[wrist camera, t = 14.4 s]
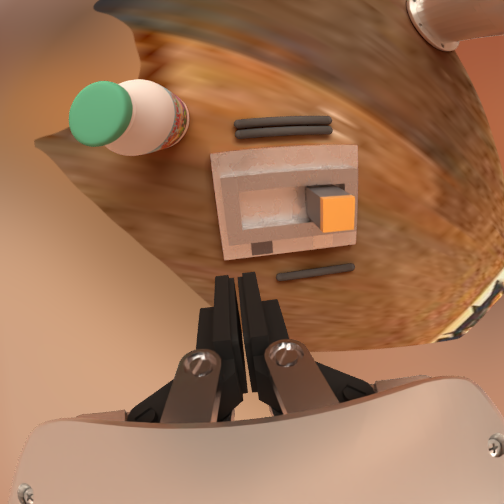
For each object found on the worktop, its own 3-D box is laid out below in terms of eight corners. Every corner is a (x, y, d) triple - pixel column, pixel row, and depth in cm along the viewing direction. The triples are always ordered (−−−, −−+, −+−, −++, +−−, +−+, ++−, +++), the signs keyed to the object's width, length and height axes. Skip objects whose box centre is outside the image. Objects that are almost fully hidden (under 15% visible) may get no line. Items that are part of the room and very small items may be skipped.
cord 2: (275, 279, 43) (277, 283, 42) (275, 272, 42) (276, 276, 41) (352, 268, 44) (355, 271, 42) (353, 261, 43) (356, 265, 42)
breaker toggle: (305, 186, 35) (323, 199, 29) (333, 184, 36) (355, 196, 29) (306, 214, 37) (323, 232, 31) (333, 212, 37) (353, 229, 31)
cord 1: (235, 139, 34) (235, 139, 33) (233, 120, 33) (233, 119, 31) (330, 134, 34) (334, 134, 33) (329, 116, 33) (332, 116, 32)
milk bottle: (137, 153, 33) (56, 180, 15) (132, 100, 30) (48, 79, 12) (192, 144, 33) (154, 158, 15) (188, 89, 30) (146, 44, 12)
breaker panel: (210, 153, 34) (209, 155, 31) (352, 144, 35) (364, 146, 32) (224, 255, 40) (224, 266, 37) (351, 240, 41) (361, 249, 38)
